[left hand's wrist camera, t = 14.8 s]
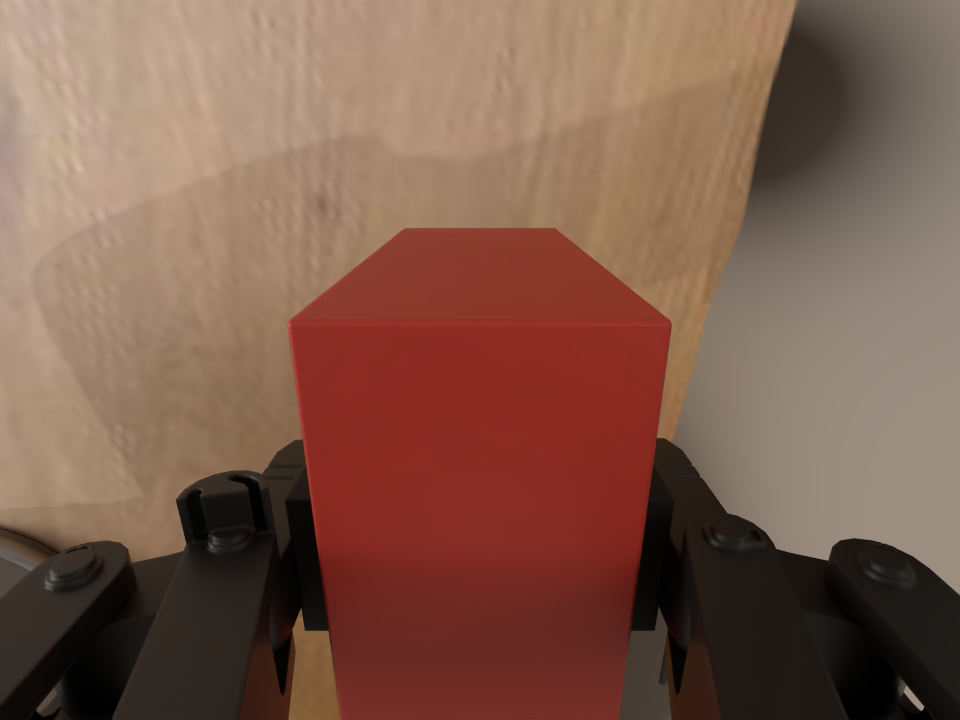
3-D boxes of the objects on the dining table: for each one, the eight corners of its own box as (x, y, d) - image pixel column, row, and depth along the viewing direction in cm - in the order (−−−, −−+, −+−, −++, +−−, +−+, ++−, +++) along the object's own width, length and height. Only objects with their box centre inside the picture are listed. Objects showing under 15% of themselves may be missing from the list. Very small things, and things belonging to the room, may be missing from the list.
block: (543, 486, 19) (608, 811, 9) (416, 486, 19) (350, 810, 9) (556, 228, 16) (674, 320, 6) (403, 228, 16) (284, 321, 6)
